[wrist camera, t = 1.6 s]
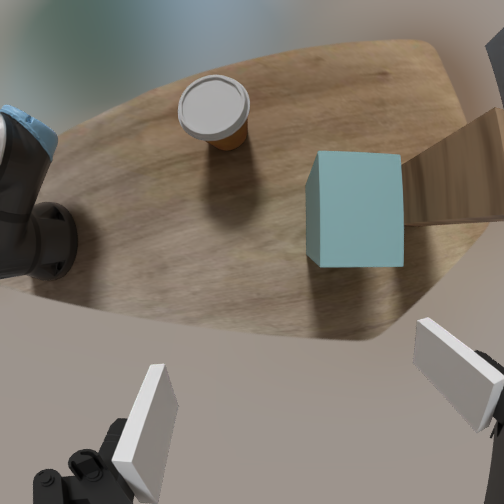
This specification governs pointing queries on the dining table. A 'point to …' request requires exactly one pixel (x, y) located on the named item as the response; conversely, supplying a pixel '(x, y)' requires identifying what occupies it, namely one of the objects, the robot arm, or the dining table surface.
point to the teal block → (355, 210)
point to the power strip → (497, 60)
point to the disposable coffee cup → (215, 111)
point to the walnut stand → (458, 176)
